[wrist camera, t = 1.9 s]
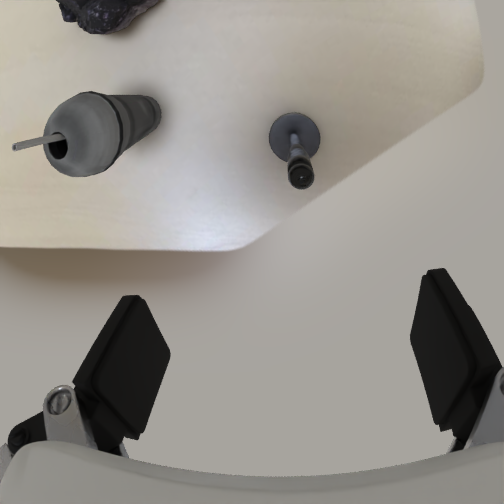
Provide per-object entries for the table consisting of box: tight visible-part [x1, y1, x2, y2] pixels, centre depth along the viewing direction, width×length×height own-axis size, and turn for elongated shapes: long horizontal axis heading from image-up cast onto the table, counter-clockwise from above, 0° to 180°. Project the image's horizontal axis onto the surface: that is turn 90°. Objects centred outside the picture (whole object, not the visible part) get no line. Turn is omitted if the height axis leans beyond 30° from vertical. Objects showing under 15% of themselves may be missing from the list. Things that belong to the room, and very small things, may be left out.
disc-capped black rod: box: [269, 113, 320, 190], centre depth 24 cm, size 5×5×16 cm
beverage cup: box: [12, 91, 161, 177], centre depth 22 cm, size 7×7×20 cm
